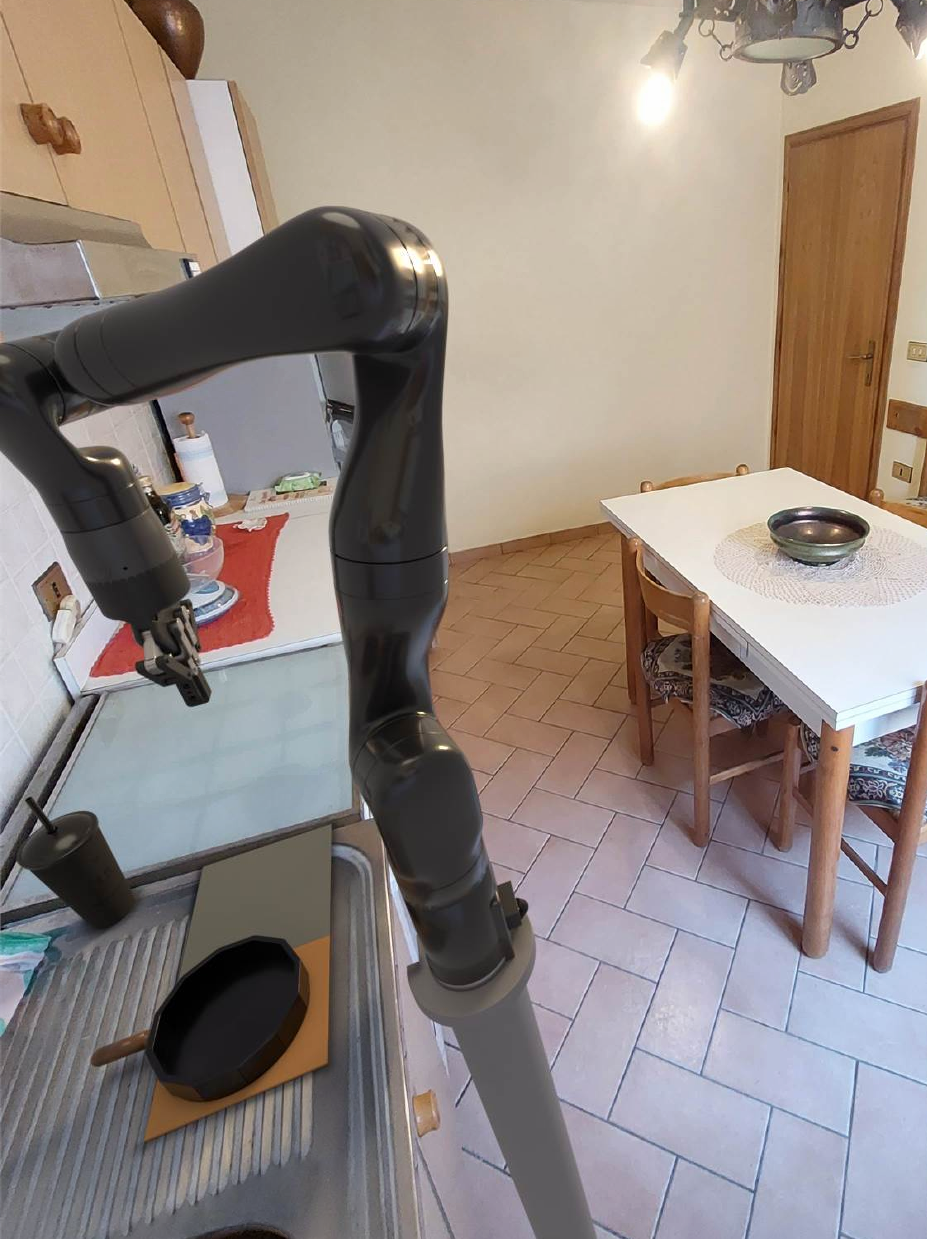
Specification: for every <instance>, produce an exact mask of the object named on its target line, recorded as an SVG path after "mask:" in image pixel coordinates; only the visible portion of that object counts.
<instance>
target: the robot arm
mask: <svg viewBox="0 0 927 1239" xmlns="http://www.w3.org/2000/svg"><path fill="white" fill-rule="evenodd" d="M449 293H450V292H449V285H448V279H447V274H446V270H445V267H444V264H443V261H442V259H441V256H440V255H439V252H438V251H437V249H436V247H435V245H434V244H433V242H432V241H431V239H430V238H429V237H428V236H427V235H426V234H425V233H424V232H423V231H421V229H419V228H418V227H416V226H415V225H413V224H411V223H410V222H408V221H406V220H403V219H400V218H398V217H395V216H390V215H387V214H382V213H376V212H371V211H368V210H367V211H366V210H364V209H363V210H362V209H358V208H355V207H351V206H345V205H322V206H316V207H314V208H310V209H308V210H305V211H304V212H301V213H300V214H297V215H296V216H294V217H292V218H290V219H288V220H287V221H285V222H283V223H281V224H280V225H278V226H277V227H275V228H274V229H272V230H271V231H269V232H267V233H265V234H264V235H262V236H261V237H259V238H257V239H256V240H255V241H253V242H252V243H251V244H249V245H247V246H245V247H244V248H242V249H241V250H239V251H238V252H237V253H235V254H233V255H231V256H230V257H228V258H226V259H224V260H223V261H220V262H219V263H217V264H215V265H213V266H211V267H209V268H208V269H206V270H204V271H202V272H200V273H198V274H196V275H194V276H192V277H190V278H188V279H186V280H184V281H181V282H178V283H177V284H174V285H172V286H168V287H166V288H163V289H159V290H157V291H154V292H151V293H148V294H145V295H142V296H139V297H136V298H133V299H130V300H126V301H123V302H121V303H118V304H115V305H112V306H109V307H105V308H103V309H100V310H97V311H95V312H91V313H88V314H86V315H83V316H80V317H79V318H77V319H74V320H73V321H71V322H70V323H68V324H67V325H65V326H64V327H63V328H62V329H58V330H54V331H50V332H46V333H45V332H44V333H42V334H37V335H32V336H27V337H24V338H17V339H14V340H13V339H12V340H9V341H4V342H0V453H1V454H2V455H3V456H4V457H5V458H6V459H7V460H8V461H9V463H11V464H12V465H13V467H15V469H17V471H19V473H20V474H22V475H23V477H25V479H27V481H28V482H29V483H30V484H31V485H32V486H33V487H34V488H35V490H36V491H37V492H38V495H39V496H40V498H41V500H42V502H43V504H44V505H45V508H46V509H47V511H48V513H49V514H50V516H51V518H52V520H53V521H54V522H53V523H55V526H56V527H57V529H58V530H59V533H60V535H61V537H62V540H63V542H64V545H65V549H66V551H67V553H68V556H69V557H70V559H71V561H72V563H73V564H74V566H75V568H76V570H77V572H78V573H79V575H80V577H81V579H82V580H83V582H84V584H85V585H86V588H87V590H88V591H89V593H90V595H91V596H92V598H93V600H94V602H95V604H96V606H97V607H98V609H99V611H100V613H101V614H102V615H103V617H104V618H106V619H108V620H112V621H119V622H123V623H127V624H129V625H130V629H131V635H132V638H133V640H134V641H135V644H136V645H137V646H138V647H141V648H142V649H143V652H144V653H143V655H144V656H143V657H144V659H141V660H138V661H135V663H134V668H135V671H136V673H137V674H138V675H140V676H141V677H143V678H145V679H147V680H149V681H151V682H153V683H155V684H157V685H159V686H160V687H162V688H167V687H170V686H174V685H175V687H176V688H177V690H178V692H179V694H180V696H181V698H182V700H183V702H184V703H185V705H186V706H187V707H189V708H194V707H199V706H201V705H202V706H203V705H205V704H207V703H209V702H210V700H211V695H212V692H213V691H212V689H211V687H210V685H209V683H208V681H207V679H206V676H205V675H204V673H203V671H202V668H201V667H200V666H201V664H202V663H201V662H202V660H201V658H200V656H199V654H198V653H201V652H202V649H203V648H202V647H203V646H202V644H201V640H200V636H199V630H198V626H197V620H196V616H195V611H194V607H193V606H194V605H193V601H192V600H191V599H190V598H186V599H185V597H186V596H187V595H188V594H189V592H190V590H191V586H192V584H191V581H190V579H189V577H188V575H187V572H186V570H185V568H184V566H183V563H182V561H181V559H180V557H179V555H178V553H177V551H176V549H175V547H174V545H173V543H172V541H171V539H170V536H169V534H168V532H167V530H166V528H165V525H164V524H163V522H162V521H161V520H160V517H159V516H158V515H157V513H156V512H155V510H154V509H153V507H152V505H151V504H150V501H149V498H148V497H147V495H146V493H145V491H144V489H143V487H142V485H141V481H140V480H139V478H138V476H137V473H136V472H135V470H134V468H133V466H132V464H131V462H130V461H129V459H128V458H127V456H126V455H125V454H124V453H123V451H121V450H119V449H118V448H116V447H113V446H110V445H93V446H90V445H89V446H82V447H77V446H76V445H75V444H73V443H72V442H71V441H70V440H69V439H68V438H67V437H66V435H64V433H63V432H62V431H61V429H60V427H63V426H65V425H69V424H71V423H73V422H76V421H79V420H83V419H85V418H89V417H90V416H94V415H97V414H99V413H103V412H105V411H108V410H111V409H115V408H116V407H130V406H135V405H139V404H144V403H148V402H152V401H154V400H158V399H162V398H165V397H169V396H172V395H176V394H179V393H182V392H186V391H188V390H192V389H194V388H197V387H200V386H202V385H205V384H207V383H208V382H211V381H212V380H214V379H216V378H218V377H219V376H221V375H223V374H224V373H226V372H228V371H230V370H231V369H233V368H236V367H239V366H241V365H245V364H248V363H252V362H256V361H261V360H266V359H273V358H281V357H294V356H307V355H309V356H310V355H325V354H344V355H350V356H351V365H352V376H353V385H354V386H353V388H354V411H353V412H354V413H353V422H352V428H351V434H350V437H349V441H348V446H347V449H346V452H345V455H344V459H343V460H342V461H343V462H342V465H341V468H340V471H339V475H338V478H337V482H336V485H335V489H334V493H333V497H332V501H331V507H330V512H329V518H328V547H329V556H330V564H331V573H332V584H333V591H334V596H335V602H336V608H337V615H338V621H339V627H340V628H339V629H340V634H341V640H342V645H343V650H344V655H345V659H346V664H347V670H348V678H349V713H348V716H349V717H348V748H347V749H348V752H347V753H348V754H347V755H348V765H349V769H350V770H349V771H350V774H351V777H352V780H353V781H354V783H355V785H356V788H357V789H358V791H359V793H360V796H361V797H362V799H363V800H364V803H365V804H366V807H367V808H368V809H369V811H370V813H371V816H372V818H373V820H374V824H375V825H376V827H377V831H378V833H379V835H380V838H381V840H382V843H383V845H384V847H385V850H386V852H385V853H386V860H387V862H388V866H389V867H390V870H391V872H392V874H393V877H394V879H395V882H396V884H397V887H398V889H399V893H400V895H401V897H402V900H403V902H404V905H405V907H406V910H407V912H408V915H409V918H410V920H411V923H412V925H413V927H414V930H415V933H416V935H418V938H419V941H420V944H421V946H422V949H423V951H424V953H425V956H426V959H427V962H428V965H429V968H430V971H431V973H432V976H433V977H434V979H435V980H436V982H437V983H438V984H439V985H441V986H442V987H444V988H446V989H448V990H451V991H457V992H464V991H470V990H474V989H476V988H479V987H481V986H483V985H485V984H486V983H488V982H489V981H490V980H492V979H493V978H494V977H495V976H496V975H497V974H498V973H499V972H500V970H501V969H502V968H503V966H504V965H505V963H506V962H507V961H509V960H511V959H513V958H515V952H514V947H513V943H512V937H511V931H510V930H511V929H514V928H516V927H519V926H521V925H522V921H521V920H522V919H523V917H524V916H525V914H526V913H527V914H528V911H529V902H528V901H527V900H526V899H524V898H521V897H516V894H515V891H514V887H513V882H512V880H508V881H505V882H503V883H500V884H498V882H497V878H496V874H495V871H494V867H493V864H492V861H490V857H489V854H488V851H487V847H486V843H485V840H484V836H483V828H484V815H483V810H482V805H481V801H480V797H479V793H478V787H477V784H476V781H475V776H474V772H473V770H472V767H471V765H470V762H469V760H468V757H467V756H466V755H465V753H464V752H463V750H462V749H461V748H460V747H459V746H458V744H457V743H456V741H455V740H454V739H453V737H452V736H451V735H450V734H449V732H448V731H447V730H446V729H445V727H444V726H443V725H442V723H441V722H440V720H439V718H438V716H437V714H436V709H435V705H434V700H433V695H432V688H431V678H430V676H431V675H430V653H431V650H432V645H433V641H434V640H435V637H436V635H437V633H438V630H439V628H440V625H441V624H442V621H443V618H444V615H445V612H446V608H447V604H448V600H449V594H450V560H449V558H450V557H449V556H450V555H449V532H448V524H447V507H446V506H447V504H446V502H447V501H446V472H445V471H446V469H445V468H446V467H445V449H444V432H443V428H444V427H443V406H444V404H443V403H444V386H445V385H444V384H445V371H446V370H445V369H446V356H447V344H448V343H447V341H448V326H449V309H450V308H449V307H450V305H449V304H450V303H449V302H450V298H449V297H450V294H449ZM518 908H519V910H518Z"/></svg>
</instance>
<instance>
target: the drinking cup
mask: <svg viewBox="0 0 927 1239" xmlns="http://www.w3.org/2000/svg"><path fill="white" fill-rule="evenodd" d="M24 802H25V803H26V805H27V806H28V808H29V809H30V810H31V811H32V813H33V814H34V816H36V819H38V821H39V822H40V823H41V826H40V827H39V828H38V829H36V830H35V831H33V833H31V834H30V835H29V836H28V837H27V838H26V839H25V840H24V841H23V843H22V844H21V845H20V847H19V848H18V851H17V852H16V862H17V864H18V866H19V867H20V868H22V869H24V870H26V871H29V872H30V873H32V874H33V875H34V876H35V877H36V878H37V879H38V880H39V881H40V882H42V884H44V885H45V886H46V887H47V888H48V889H49V890H50V891H51V892H53V893H54V895H56V896H57V897H58V898H59V899H60V900H61V901H62V902H64V904H66V905H67V906H68V907H69V908H70V909H71V910H73V912H74V913H75V914H77V915H78V916H79V917H80V918H81V919H82V920H83V921H84V922H85V923H87V924H88V926H90V927H91V928H92V929H94V930H102V929H106V928H110V927H111V926H114V925H115V924H117V923H119V922H120V921H121V920H123V919H124V918H125V917H126V916H127V915H128V914H129V913H130V912H131V910H132V909H133V907H134V905H135V902H136V896H135V895H134V893H133V891H132V889H131V887H130V884H129V882H128V881H127V878H126V877H125V875H124V873H123V871H122V869H121V867H120V865H119V863H118V860H117V859H116V858H115V855H114V853H113V851H112V849H111V848H110V846H109V844H108V841H107V840H106V838H105V835H104V834H103V832H102V830H101V827H100V826H99V824H100V821H99V820H100V819H99V818H98V816H97V814H95V813H94V812H92V811H89V810H76V811H72V812H69V813H66V814H63V815H60V816H58V817H56V818H54V819H51V820H50V819H49V818H48V816H47V815H46V814H45V812H44V811H43V809H42V808H41V807H40V805H39V804H38V802H37V801H36V800H35V798H33V796H28V797H27V798H25V799H24Z"/></svg>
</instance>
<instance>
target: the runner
mask: <svg viewBox="0 0 927 1239" xmlns="http://www.w3.org/2000/svg"><path fill="white" fill-rule="evenodd" d="M332 830H333V825H332V823H330V824H327V825H324V826H321V827H318V828H314V829H312V830H309V831H306V832H302V833H299V834H297V835H295V836H291V837H288V838H285V839H281V840H279V841H276V842H273V843H270V844H267V845H263V846H261V847H258V848H256V849H252V850H249V851H246V852H243V853H239V854H237V855H234V856H231V857H227V858H225V859H222V860H220V861H216V862H214V863H209V864H207V865H204V866H202V870H201V875H200V878H199V884H198V889H197V894H196V898H195V903H194V907H193V912H192V916H191V922H190V926H189V930H188V935H187V940H186V944H185V947H184V948H185V949H184V954H183V958H182V962H181V967H180V970H179V977H178V981H179V980H180V978H181V977H182V976H183V975H184V974H185V973H187V972H188V971H189V970H191V969H192V968H193V967H194V966H196V965H197V964H198V963H200V962H201V961H202V960H203V959H205V958H206V957H207V956H209V955H210V954H211V953H212V952H214V951H215V950H216V949H218V948H220V947H223V946H225V945H228V944H231V943H234V942H237V941H239V940H242V939H245V938H248V937H250V936H253V935H254V936H255V935H259V936H267V937H275V938H283V939H285V940H286V941H287V942H288V944H289V945H290V946H291V947H292V949H293V950H294V951H295V952H296V954H297V955H298V956H299V958H300V959H301V961H302V962H303V964H304V966H305V968H306V970H307V971H308V973H309V984H310V999H309V1005H308V1009H307V1013H306V1016H305V1018H304V1021H303V1023H302V1026H301V1028H300V1030H299V1032H298V1033H297V1035H296V1037H295V1039H294V1040H293V1042H292V1043H291V1045H290V1046H289V1047H288V1049H287V1050H286V1052H285V1053H284V1054H283V1055H282V1056H281V1058H280V1059H279V1060H278V1061H277V1062H276V1063H275V1064H274V1065H273V1066H272V1067H271V1068H270V1069H269V1070H268V1071H267V1072H266V1073H264V1074H263V1075H262V1076H261V1077H260V1078H258V1079H257V1080H256V1081H254V1082H253V1083H252V1084H250V1085H249V1086H247V1087H245V1088H244V1089H242V1090H240V1091H238V1092H236V1093H234V1094H232V1095H230V1096H227V1097H224V1098H222V1099H219V1100H214V1101H210V1102H190V1101H187V1100H184V1099H181V1098H180V1097H177V1096H172V1095H171V1094H170V1093H169V1092H168V1091H167V1090H166V1088H165V1087H164V1086H163V1085H162V1084H161V1083H160V1082H159V1080H158V1078H157V1077H156V1083H155V1086H154V1092H153V1097H152V1101H151V1106H150V1111H149V1115H148V1120H147V1125H146V1128H145V1133H144V1138H143V1142H144V1143H147V1142H150V1141H152V1140H154V1139H157V1138H160V1137H161V1136H163V1135H166V1134H168V1133H171V1132H173V1131H175V1130H177V1129H180V1128H183V1127H185V1126H187V1125H189V1124H192V1123H194V1122H196V1121H199V1120H201V1119H203V1118H206V1117H208V1116H210V1115H213V1114H216V1113H217V1112H220V1111H222V1110H224V1109H227V1108H229V1107H231V1106H234V1105H237V1104H238V1103H241V1102H243V1101H245V1100H248V1099H251V1098H253V1097H255V1096H257V1095H260V1094H262V1093H264V1092H266V1091H269V1090H272V1089H274V1088H276V1087H278V1086H280V1085H283V1084H285V1083H288V1082H290V1081H292V1080H295V1079H297V1078H299V1077H302V1076H304V1075H306V1074H308V1073H312V1072H314V1071H316V1070H318V1069H320V1068H323V1067H325V1066H327V1065H328V1064H329V1019H330V1018H329V1015H330V1014H329V1009H330V959H331V958H330V956H331V954H330V951H331V950H330V949H331V896H332V895H331V894H332V893H331V890H332V889H331V888H332V886H331V884H332V838H333V837H332V834H333V831H332Z"/></svg>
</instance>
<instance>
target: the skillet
mask: <svg viewBox="0 0 927 1239" xmlns="http://www.w3.org/2000/svg"><path fill="white" fill-rule="evenodd" d="M309 999H310V984H309V973H308V971H307V970H306V968H305V966H304V964H303V962H302V961H301V959H300V958H299V956H298V955H297V954H296V952H295V951H294V950H293V949H292V947H291V946H290V945H289V944H288V942H287V941H286V940H285V939H283V938H275V937H267V936H259V935H255V936H254V935H253V936H250V937H248V938H245V939H242V940H239V941H237V942H234V943H231V944H228V945H225V946H223V947H220V948H218V949H216V950H215V951H214V952H212V953H211V954H210V955H209V956H207V957H206V958H205V959H203V960H202V961H201V962H200V963H198V964H197V965H196V966H194V967H193V968H192V969H191V970H189V971H188V972H187V973H185V974H184V975H183V976H182V977H181V978H180V980H179V979H178V980H177V982H176V984H175V985H174V986H173V988H172V989H171V991H170V992H169V993H168V995H167V997H165V999H164V1000H163V1001H162V1003H161V1005H160V1006H159V1008H158V1009H157V1010H156V1012H155V1013H154V1015H153V1020H152V1023H151V1027H150V1028H149V1029H145V1030H143V1031H141V1032H138V1033H135V1034H133V1035H130V1036H127V1037H125V1038H122V1039H119V1040H116V1041H114V1042H112V1043H108V1044H106V1045H104V1046H101V1047H99V1048H97V1049H96V1050H95V1051H93V1053H92V1055H91V1057H90V1065H92V1067H94V1068H100V1067H104V1066H106V1065H108V1064H111V1063H113V1062H116V1061H119V1060H122V1059H125V1058H126V1057H130V1056H132V1055H134V1054H137V1053H139V1052H142V1051H144V1050H145V1051H144V1052H145V1056H146V1059H147V1061H148V1063H149V1065H150V1066H151V1068H152V1070H153V1072H154V1074H155V1076H156V1079H157V1078H158V1080H159V1082H160V1083H161V1084H162V1085H163V1086H164V1087H165V1088H166V1090H167V1091H168V1092H169V1093H170V1094H171V1095H172V1096H177V1097H180V1098H181V1099H184V1100H187V1101H190V1102H210V1101H214V1100H219V1099H222V1098H224V1097H227V1096H230V1095H232V1094H234V1093H236V1092H238V1091H240V1090H242V1089H244V1088H245V1087H247V1086H249V1085H250V1084H252V1083H253V1082H254V1081H256V1080H257V1079H258V1078H260V1077H261V1076H262V1075H263V1074H264V1073H266V1072H267V1071H268V1070H269V1069H270V1068H271V1067H272V1066H273V1065H274V1064H275V1063H276V1062H277V1061H278V1060H279V1059H280V1058H281V1056H282V1055H283V1054H284V1053H285V1052H286V1050H287V1049H288V1047H289V1046H290V1045H291V1043H292V1042H293V1040H294V1039H295V1037H296V1035H297V1033H298V1032H299V1030H300V1028H301V1026H302V1023H303V1021H304V1018H305V1016H306V1013H307V1009H308V1005H309Z"/></svg>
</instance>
